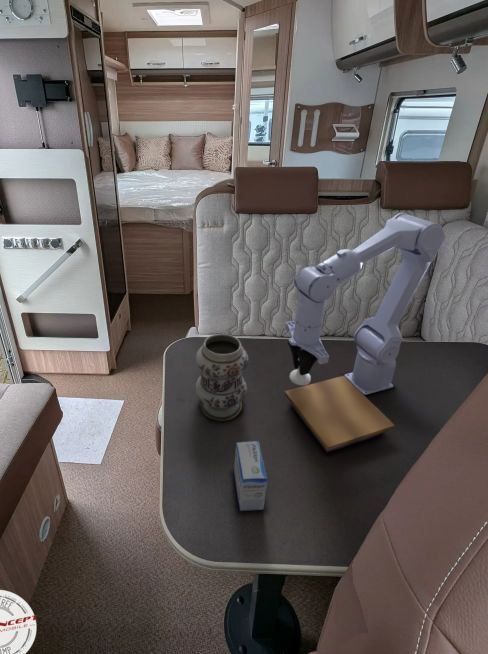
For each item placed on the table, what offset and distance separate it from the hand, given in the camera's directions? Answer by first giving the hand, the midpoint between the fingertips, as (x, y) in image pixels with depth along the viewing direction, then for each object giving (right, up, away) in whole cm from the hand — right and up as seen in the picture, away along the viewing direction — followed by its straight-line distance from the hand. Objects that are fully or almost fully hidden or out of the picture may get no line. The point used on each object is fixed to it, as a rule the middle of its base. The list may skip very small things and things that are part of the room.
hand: (301, 370), depth 85 cm
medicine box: (-14, -19, -17) cm, 29 cm away
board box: (+7, -11, -1) cm, 13 cm away
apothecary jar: (-19, -9, +2) cm, 21 cm away
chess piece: (0, -2, +1) cm, 3 cm away
